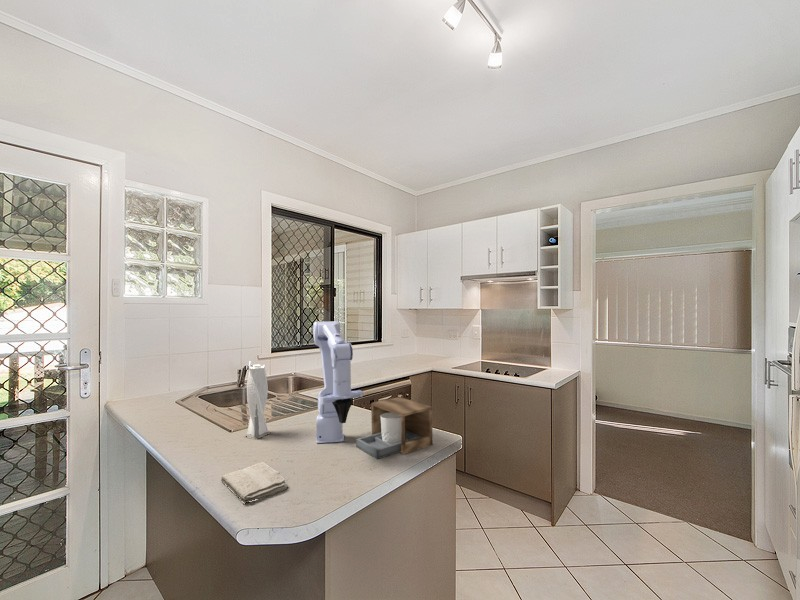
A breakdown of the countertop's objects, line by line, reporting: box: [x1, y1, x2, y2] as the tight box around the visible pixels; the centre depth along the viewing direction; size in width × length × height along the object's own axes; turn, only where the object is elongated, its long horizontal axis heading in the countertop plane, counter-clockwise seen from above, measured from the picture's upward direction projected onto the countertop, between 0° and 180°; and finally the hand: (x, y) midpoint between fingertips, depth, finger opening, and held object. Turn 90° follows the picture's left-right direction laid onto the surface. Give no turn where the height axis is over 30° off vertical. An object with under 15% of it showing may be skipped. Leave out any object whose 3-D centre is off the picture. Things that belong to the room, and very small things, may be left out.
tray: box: [355, 430, 422, 460], centre depth 123 cm, size 19×13×3 cm
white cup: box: [380, 412, 402, 444], centre depth 124 cm, size 8×8×10 cm
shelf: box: [370, 396, 434, 455], centre depth 126 cm, size 13×18×13 cm
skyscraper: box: [245, 360, 272, 440], centre depth 136 cm, size 8×8×28 cm
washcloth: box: [220, 461, 287, 504], centre depth 97 cm, size 12×18×3 cm, turn 45°
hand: (342, 422), depth 116 cm, fingers closed
